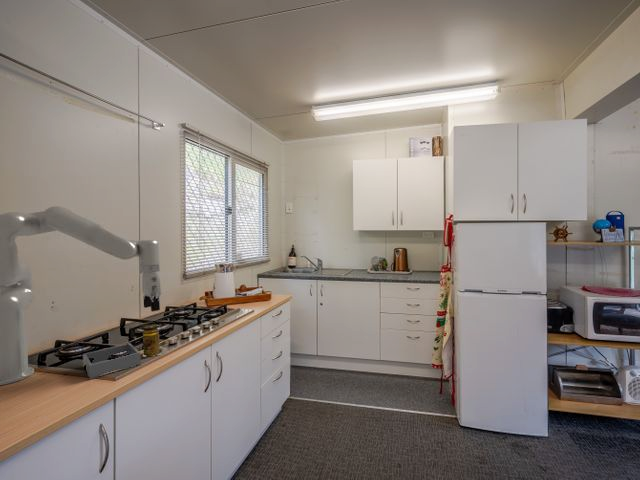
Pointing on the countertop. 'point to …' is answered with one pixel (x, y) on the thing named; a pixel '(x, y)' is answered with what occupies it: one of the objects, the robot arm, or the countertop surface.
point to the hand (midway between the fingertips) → (151, 308)
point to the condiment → (151, 341)
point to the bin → (104, 365)
